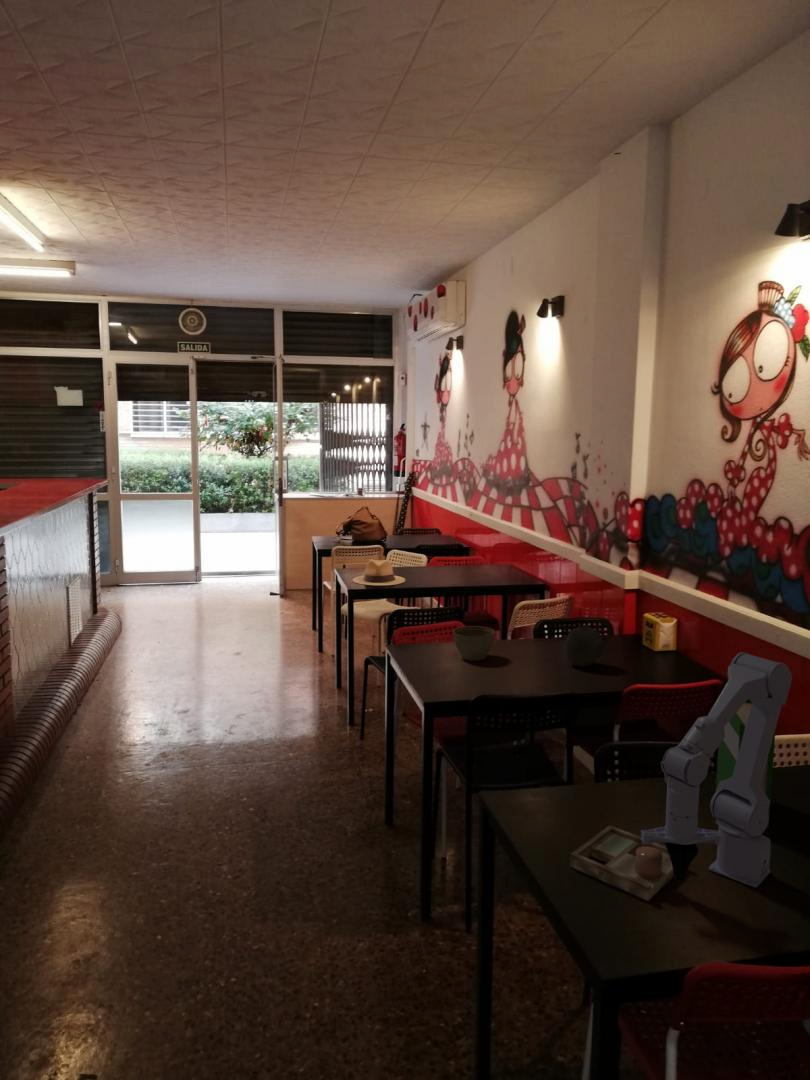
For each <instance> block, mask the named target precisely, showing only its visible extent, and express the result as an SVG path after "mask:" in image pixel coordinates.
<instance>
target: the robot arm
mask: <svg viewBox="0 0 810 1080" xmlns="http://www.w3.org/2000/svg"><path fill="white" fill-rule="evenodd" d="M792 680H793V676H792V672H791V671H790V668H789V666H788V665H787V664H786V663H783V662H777V661H774V660H770V659H766V658H763V657H760V656H756V655H754V654H753V655H752V654H749V653H747V652H744V651H741V652H739V653H737V654H736V655H735V656H734V658H733V659H732V660H731V663H730V664H729V666H728V667H727V682H726V683H725V685H724V687H723V688H722V690H721V693H720V694H719V696H718V697H717V699H716V700H715V703H714V704H713V706H712V707H711V709H710V711H709V713H708V714H707V716H699V717H697V718H696V720H695V722H694V723H693V725H692V726H691V728H689V729H688V731H687V733H686V734H685V736H684V737H683V738H682V740H681V741H680V742H679V744H678V745H677V746H674V747H673V746H672V747H669V748H668V749H667V750H666V751H665V753H664V755H663V757H662V761H661V762H660V767H661V771H662V772H663V774H664V782H665V784H666V785H667V786H666V800H665V801H666V802H665V803H666V805H665V825H664V826H661V827H655V828H651V829H641V830H640V837H641V840H642V842H643V844H644V845H649V843H658V844H664V846H665V847H666V848H667V850H668V853H669V856H670V859H671V863H672V867H673V875H674V877H673V878H675V880H676V882H677V881H679V882H680V881H683V882H684V881H685V877H686V875H687V872H688V870H689V867H690V865H691V864H692V862H693V860H694V859H695V858H696V857H697V856H698V854H699V848H698V846H697V844H714V845H715V846H717V847H716V848H717V851H716V859H715V861H713V862H712V863H711V864H710V865H709V867H708V870H709V871H711V872H714V873H716V874H719V875H721V876H724V877H727V878H730V879H732V880H734V881H737V882H738V883H739V882H740V883H741V884H744V885H747V886H750V887H753V888H756V889H757V888H758V887H759V886H760V885H761V884H762V882H763V881H764V880H765V879H766V877H768V875H769V874H771V870H770V862H771V861H770V860H771V847H772V843H771V839H770V838H768V837H767V836H765V835H763V833H764V832H765V831H766V830H767V829H766V827H767V825H768V821H769V822H770V819H769V815H768V812H769V805H770V806H771V804H770V800H769V799H768V797H767V796H766V795H765V793H764V792H763V790H762V789H761V787H760V784H761V780H762V776H763V773H764V769H765V765H766V762H767V758H768V754H769V750H770V747H771V743H772V739H773V736H774V732H775V733H776V728H777V725H778V720H779V716H780V714H781V713H780V712H781V708H782V706H785V705H786V703H787V700H788V696H789V692H790V688H791V685H792ZM748 699H750V700H751V702H752V705H751V709H750V713H749V717H748V720H747V724H746V728H745V731H744V735H743V739H742V742H741V746H740V750H739V754H738V757H737V761H736V765H735V768H734V772H733V776H732V778H730V779H727V780H724V781H721V782H720V783H719V786H718V789H717V791H716V790H715V793H714V794H713V796H712V797H711V799H710V803H709V804H710V805H709V810H710V813H711V815H712V817H714V818H715V824H716V825H717V826H718V830H717V829H716V830H714V829H706V828H699V827H698V825H699V824H698V822H699V820H698V819H699V800H700V797H699V796H700V787H701V786H700V785H701V784H702V783H703V781H704V780H705V779H706V777H707V775H708V771H709V767H710V765H711V762H712V761H711V757H712V756H713V754H714V753H716V750H718V746H719V745H720V743H721V742H722V740H723V739H724V738H725V731H724V726H725V725H726V724H727V723H728V722H729V720H730V719H731V718H732V717H733V716H734V715H735V714H736V712H737V711H738V710H739V709H740V708H741V707H742V705H743V704H744V703H745V702H746V701H747V700H748ZM735 793H736V794H735ZM737 794H738V795H737ZM739 795H740V796H739ZM741 796H742V797H741Z"/></svg>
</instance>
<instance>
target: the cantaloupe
mask: <svg viewBox="0 0 810 1080" xmlns="http://www.w3.org/2000/svg"><path fill="white" fill-rule="evenodd" d="M563 647H564V648H563V649H564V654H565V658H566V659H567V661H568V662H569V663H570V664H572V665H574V666H576V667H578V668H579V667H580V668H583V667H584V668H585V667H587V666H590V665H592V664H594V663H595V662H596V661H597V660H598V659H599V658H600V657H601V655H602V653H603V651H604V647H605V642H604V639H603V636H602V635H601V634H600V632H598V631H597V630H595V629H593V628H592V627H589V626H578V627H575V628H573V629H572V630H570V632H569V633H568V634H567V637H566V638H565V641H564V645H563Z"/></svg>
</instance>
